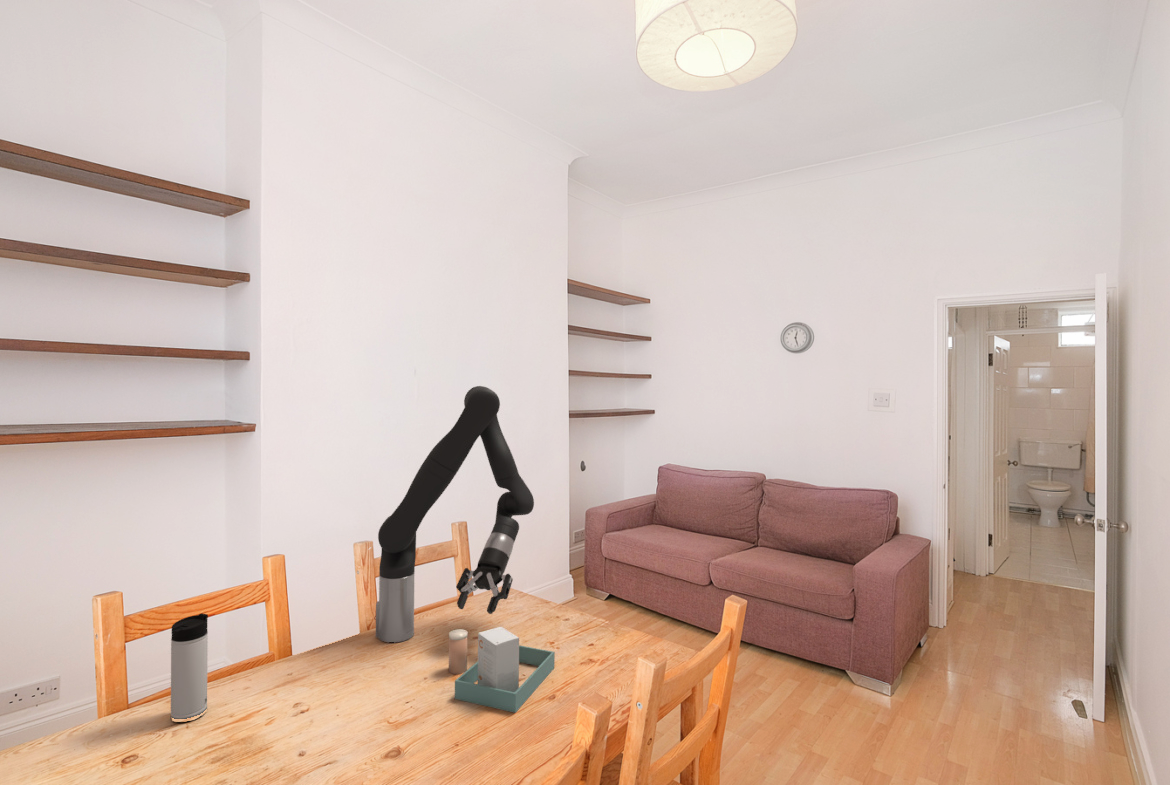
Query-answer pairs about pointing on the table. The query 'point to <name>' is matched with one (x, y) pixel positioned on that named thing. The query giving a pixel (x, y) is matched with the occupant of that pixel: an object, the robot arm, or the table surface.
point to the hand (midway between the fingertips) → (474, 610)
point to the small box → (498, 659)
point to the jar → (458, 651)
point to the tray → (504, 698)
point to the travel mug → (189, 666)
